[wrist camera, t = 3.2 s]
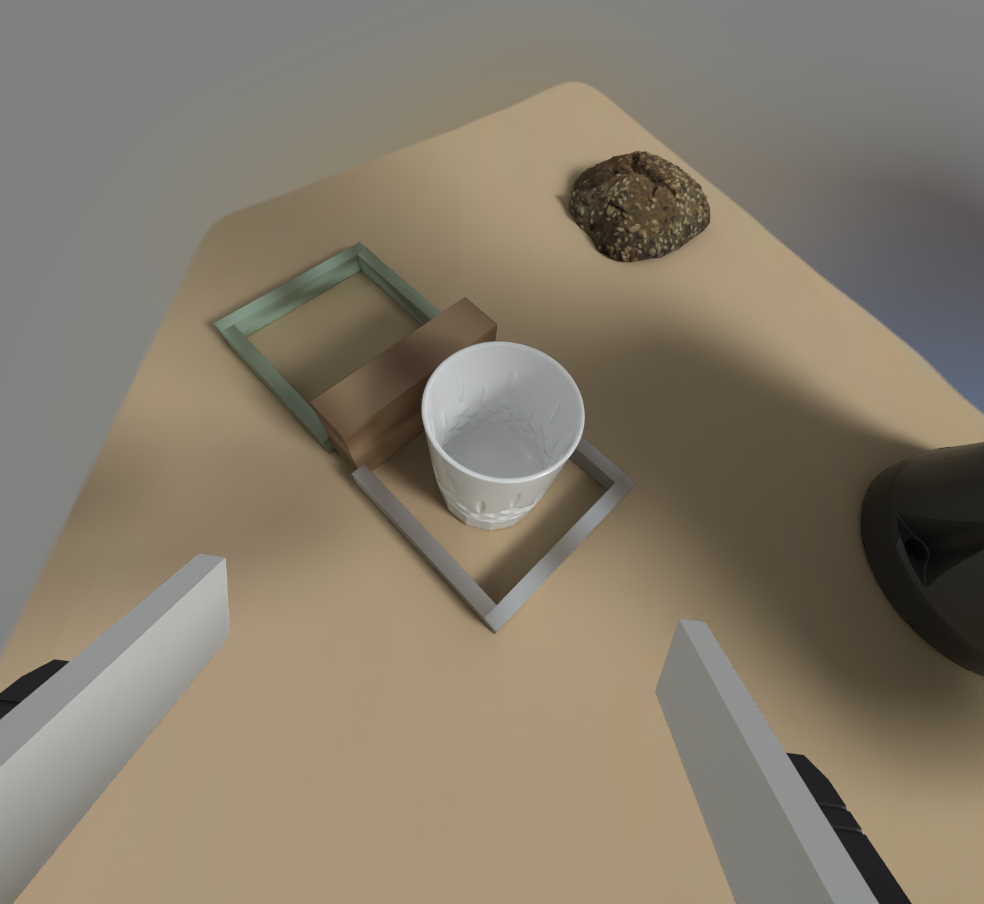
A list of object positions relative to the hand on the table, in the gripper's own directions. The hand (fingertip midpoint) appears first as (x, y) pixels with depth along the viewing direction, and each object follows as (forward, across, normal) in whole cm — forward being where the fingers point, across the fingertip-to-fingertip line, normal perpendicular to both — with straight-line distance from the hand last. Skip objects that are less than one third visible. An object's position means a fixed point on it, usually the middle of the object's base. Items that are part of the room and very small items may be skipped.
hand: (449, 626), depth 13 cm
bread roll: (+39, +11, +18) cm, 44 cm away
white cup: (+18, +1, -3) cm, 18 cm away
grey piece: (+21, -5, +1) cm, 21 cm away
